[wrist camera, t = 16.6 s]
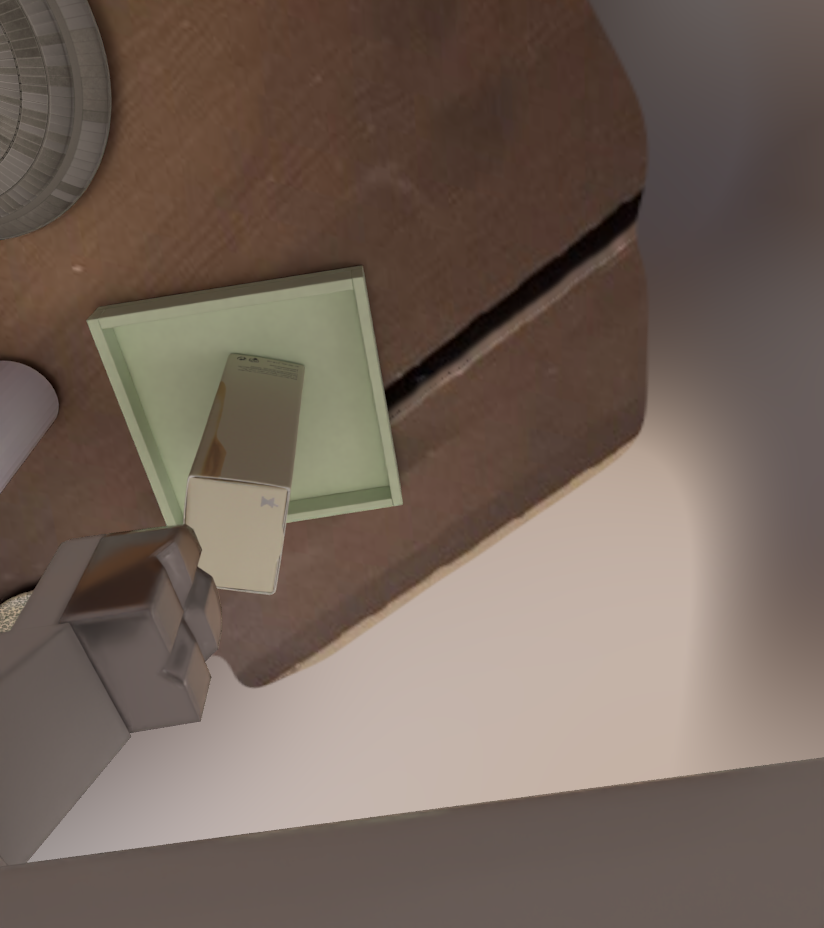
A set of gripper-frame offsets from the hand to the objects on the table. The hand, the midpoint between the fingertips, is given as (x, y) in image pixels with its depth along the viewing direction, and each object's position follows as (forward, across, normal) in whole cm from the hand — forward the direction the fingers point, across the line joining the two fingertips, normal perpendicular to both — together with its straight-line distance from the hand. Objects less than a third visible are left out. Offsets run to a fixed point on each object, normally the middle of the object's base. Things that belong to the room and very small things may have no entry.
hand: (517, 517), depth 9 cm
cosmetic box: (+30, +10, +12) cm, 34 cm away
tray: (+30, +10, +13) cm, 34 cm away
